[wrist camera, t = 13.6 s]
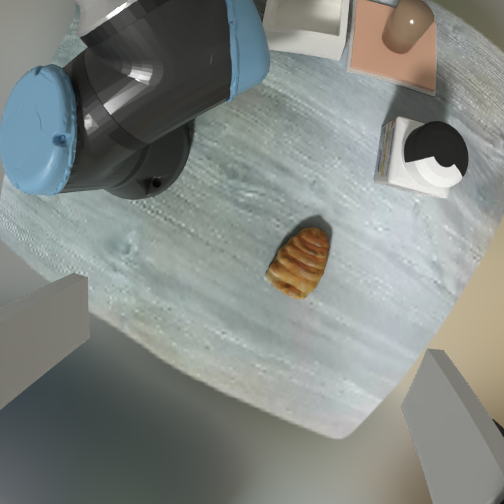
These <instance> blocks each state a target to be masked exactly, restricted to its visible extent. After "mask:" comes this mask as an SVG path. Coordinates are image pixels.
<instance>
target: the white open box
mask: <svg viewBox="0 0 504 504" xmlns="http://www.w3.org/2000/svg"><path fill="white" fill-rule="evenodd" d="M348 11H349V0H267V3H266V8H265V13H264V18H263V23H262V24H263V28H264V31H265V34H266V38H267V42H268V46H269V50H277V51H285V52H293V53H300V54H306V55H312V56H318V57H324V58H329V59H334V60H339V61H340V58H341V55H342V52H343V49H344V46H345V42H346V32H347V22H348Z"/></svg>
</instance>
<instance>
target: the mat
mask: <svg viewBox="0 0 504 504" xmlns="http://www.w3.org/2000/svg"><path fill="white" fill-rule="evenodd" d="M355 11H356V0H353V7H352V19H351V29H350V40H349V49H348V58H347V67H346V72H350V73H354V74H358V75H363V76H367V77H371V78H374V79H378V80H382V81H385V82H389V83H393V84H396V85H399V86H403V87H406V88H409V89H412V90H415V91H418V92H421V93H424V94H427V95H430V96H433V97H435V95H436V78H435V90H434V91H433V92H432V91H429V90H426V89H423V88H420V87H417V86H414V85H411V84H408V83H404V82H401V81H398V80H394V79H391V78H387V77H384V76H380V75H376V74H372V73H368V72H364V71H360V70H356V69H352V68H350V65H351V55H352V46H353V35H354V24H355ZM435 28H436V23H435ZM436 72H437V32H436Z"/></svg>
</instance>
